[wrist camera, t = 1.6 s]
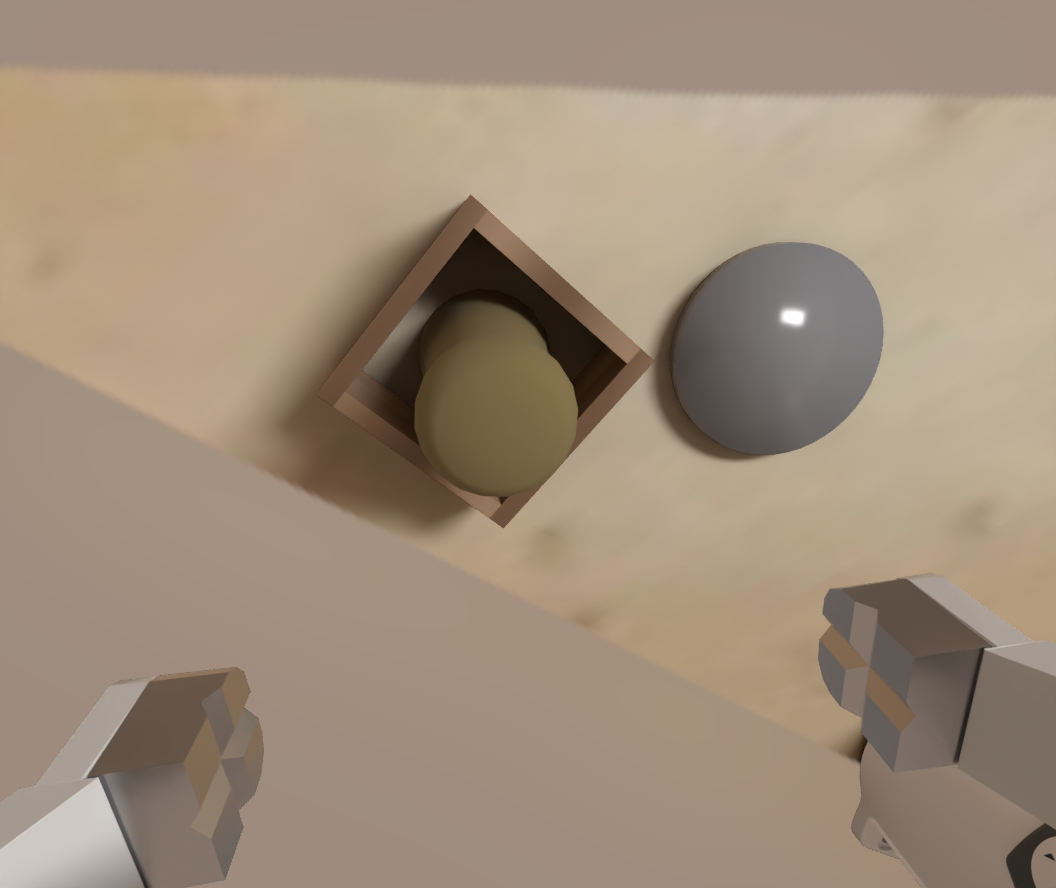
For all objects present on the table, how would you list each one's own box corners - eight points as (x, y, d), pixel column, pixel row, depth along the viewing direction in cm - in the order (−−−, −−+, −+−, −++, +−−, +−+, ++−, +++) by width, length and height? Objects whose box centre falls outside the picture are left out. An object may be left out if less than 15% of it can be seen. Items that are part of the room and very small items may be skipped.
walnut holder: (628, 342, 29) (654, 361, 25) (497, 490, 31) (503, 528, 27) (468, 198, 26) (470, 194, 22) (334, 371, 28) (315, 394, 24)
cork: (480, 444, 30) (492, 561, 20) (389, 352, 28) (350, 429, 18) (575, 361, 29) (641, 438, 19) (488, 259, 27) (509, 284, 17)
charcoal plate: (909, 337, 30) (923, 340, 29) (762, 484, 32) (771, 492, 31) (781, 193, 27) (792, 192, 26) (627, 365, 29) (633, 369, 28)
